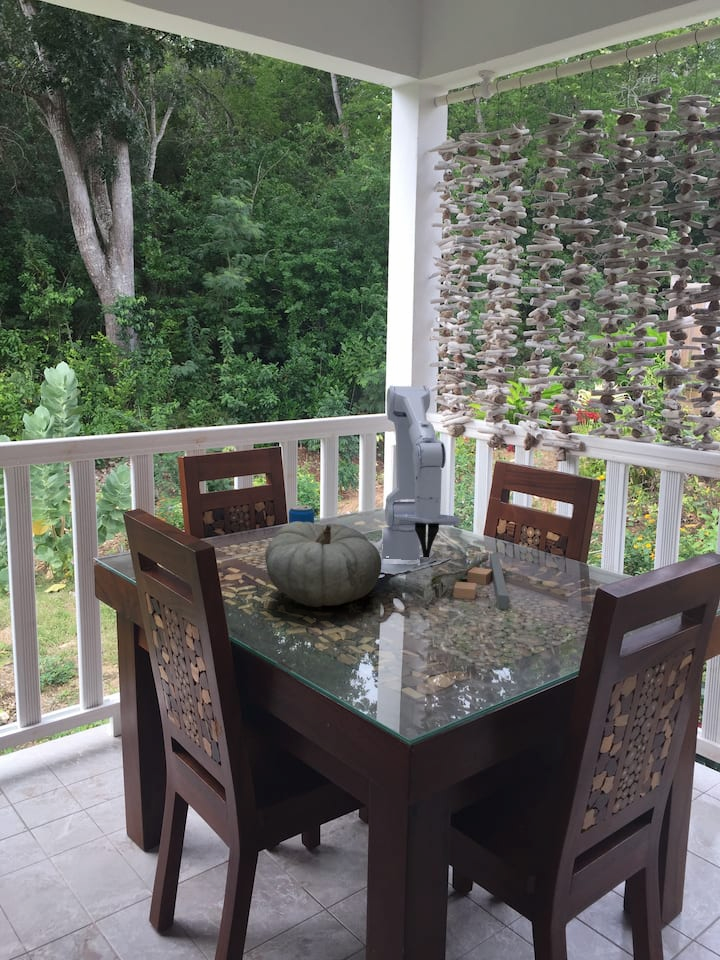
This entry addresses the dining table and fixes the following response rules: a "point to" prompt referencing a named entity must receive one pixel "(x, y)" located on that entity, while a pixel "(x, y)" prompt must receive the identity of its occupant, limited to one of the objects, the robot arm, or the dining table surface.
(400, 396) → the robot arm
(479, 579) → the tile
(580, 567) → the dining table surface
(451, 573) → the driftwood
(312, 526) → the gourd
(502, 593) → the slate curb
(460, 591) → the tile
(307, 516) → the beverage can
